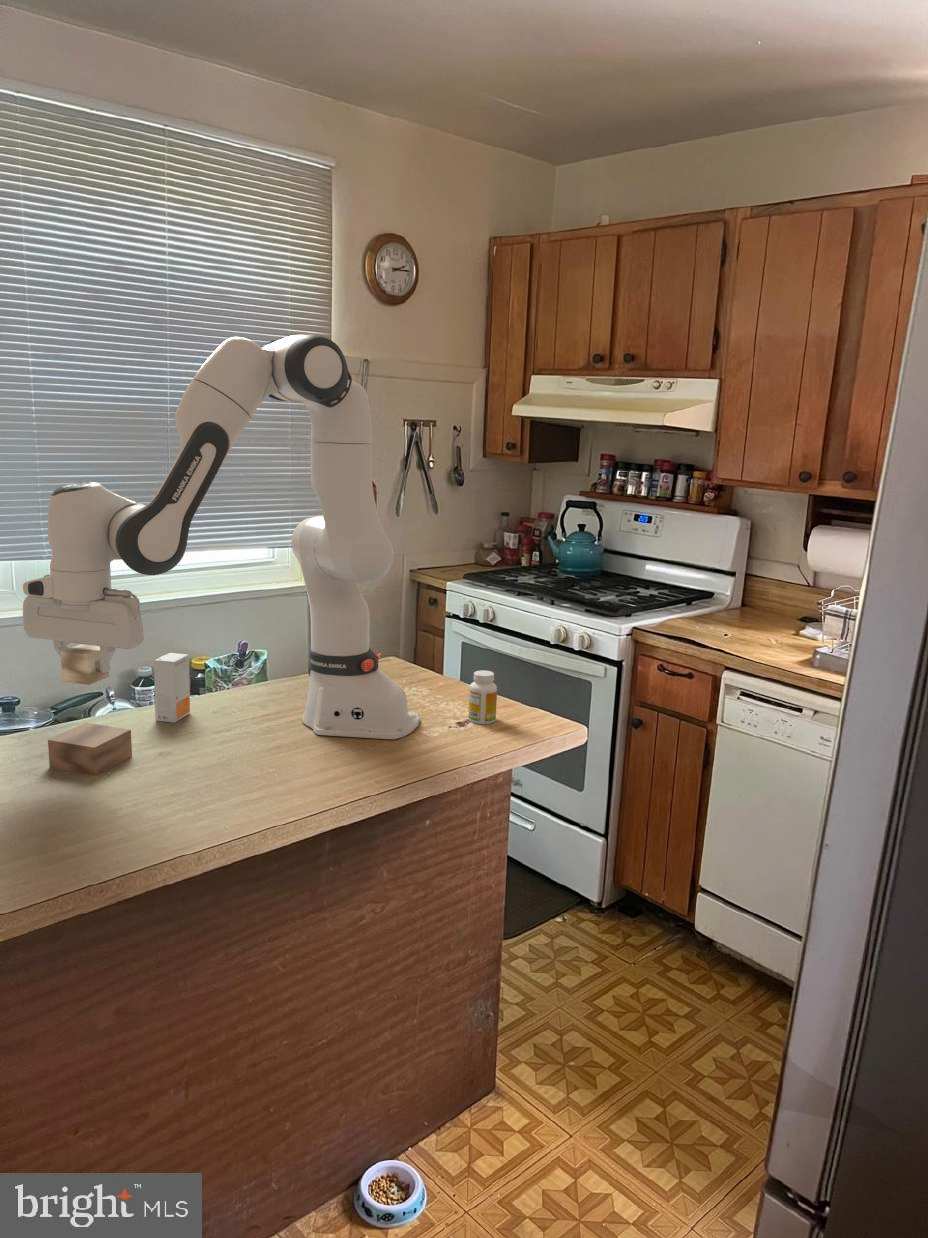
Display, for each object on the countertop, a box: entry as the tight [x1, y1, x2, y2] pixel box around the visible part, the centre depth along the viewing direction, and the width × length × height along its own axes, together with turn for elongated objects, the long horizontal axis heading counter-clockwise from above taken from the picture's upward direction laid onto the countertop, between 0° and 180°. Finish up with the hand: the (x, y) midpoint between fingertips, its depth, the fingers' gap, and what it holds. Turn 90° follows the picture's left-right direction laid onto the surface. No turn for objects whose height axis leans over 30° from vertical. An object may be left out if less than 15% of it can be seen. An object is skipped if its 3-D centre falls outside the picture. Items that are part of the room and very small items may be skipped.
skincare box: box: [153, 652, 191, 723], centre depth 170 cm, size 6×4×12 cm
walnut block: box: [47, 722, 133, 777], centre depth 148 cm, size 9×9×5 cm
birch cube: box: [60, 644, 110, 686], centre depth 145 cm, size 5×5×5 cm
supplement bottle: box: [468, 670, 498, 725], centre depth 175 cm, size 5×5×10 cm
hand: (85, 669), depth 145 cm, fingers closed on birch cube, 5 cm apart
